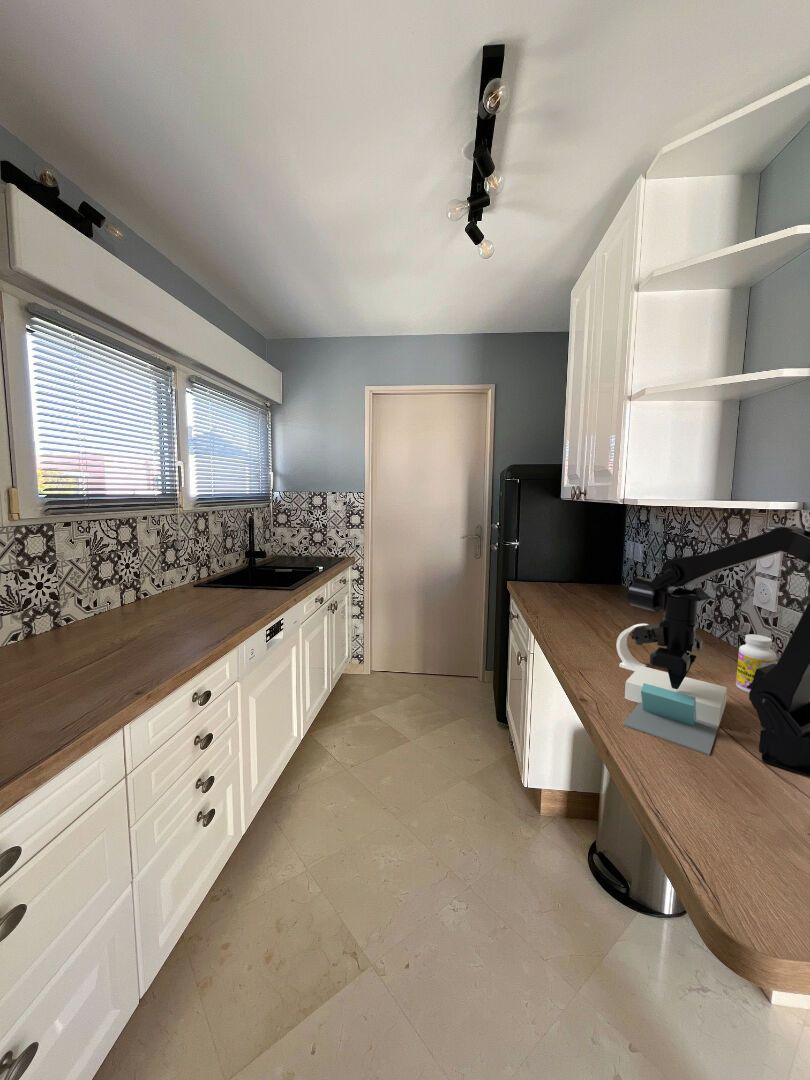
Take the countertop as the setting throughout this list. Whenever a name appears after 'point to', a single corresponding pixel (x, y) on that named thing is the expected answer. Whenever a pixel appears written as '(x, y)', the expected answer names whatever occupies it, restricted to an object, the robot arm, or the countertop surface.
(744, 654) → the supplement bottle
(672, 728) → the mat
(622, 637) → the headphone stand
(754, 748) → the countertop surface
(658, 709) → the teal rectangular block
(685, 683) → the tray
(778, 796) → the countertop surface
